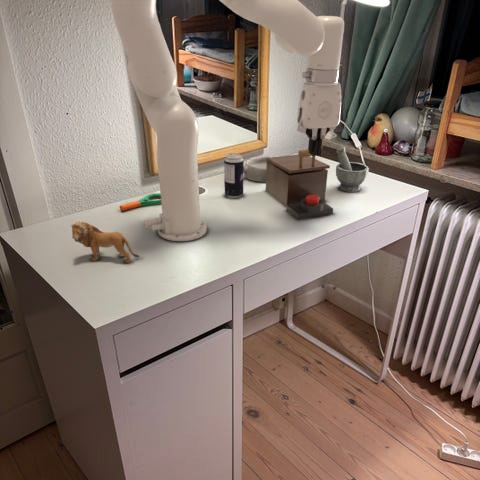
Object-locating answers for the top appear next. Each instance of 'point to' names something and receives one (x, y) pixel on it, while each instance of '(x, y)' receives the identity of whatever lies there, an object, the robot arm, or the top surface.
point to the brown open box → (294, 184)
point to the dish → (256, 168)
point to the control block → (309, 209)
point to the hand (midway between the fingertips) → (314, 154)
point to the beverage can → (233, 175)
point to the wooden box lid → (298, 162)
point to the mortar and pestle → (350, 172)
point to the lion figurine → (100, 239)
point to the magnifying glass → (142, 202)
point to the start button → (312, 199)
